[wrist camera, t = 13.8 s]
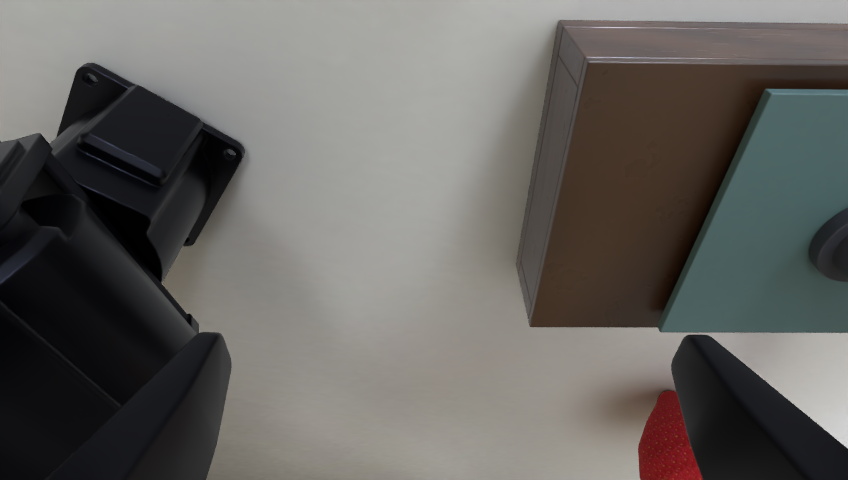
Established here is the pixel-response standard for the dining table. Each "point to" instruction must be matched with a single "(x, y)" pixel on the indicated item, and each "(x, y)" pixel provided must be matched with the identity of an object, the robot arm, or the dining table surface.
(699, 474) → the strawberry
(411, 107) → the dining table surface
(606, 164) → the sliding lid box
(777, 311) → the peg plate
